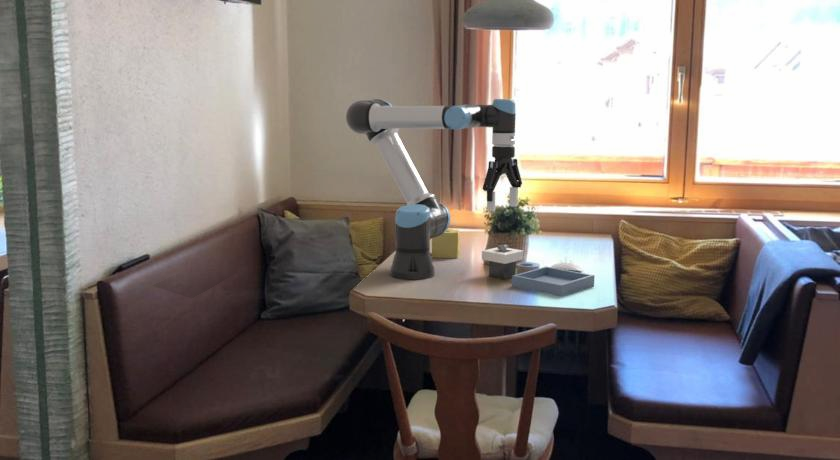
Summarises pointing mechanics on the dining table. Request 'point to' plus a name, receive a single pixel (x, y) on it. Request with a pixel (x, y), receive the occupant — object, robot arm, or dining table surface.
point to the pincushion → (566, 266)
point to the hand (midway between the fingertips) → (502, 208)
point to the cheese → (446, 245)
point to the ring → (502, 255)
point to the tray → (553, 281)
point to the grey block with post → (502, 267)
